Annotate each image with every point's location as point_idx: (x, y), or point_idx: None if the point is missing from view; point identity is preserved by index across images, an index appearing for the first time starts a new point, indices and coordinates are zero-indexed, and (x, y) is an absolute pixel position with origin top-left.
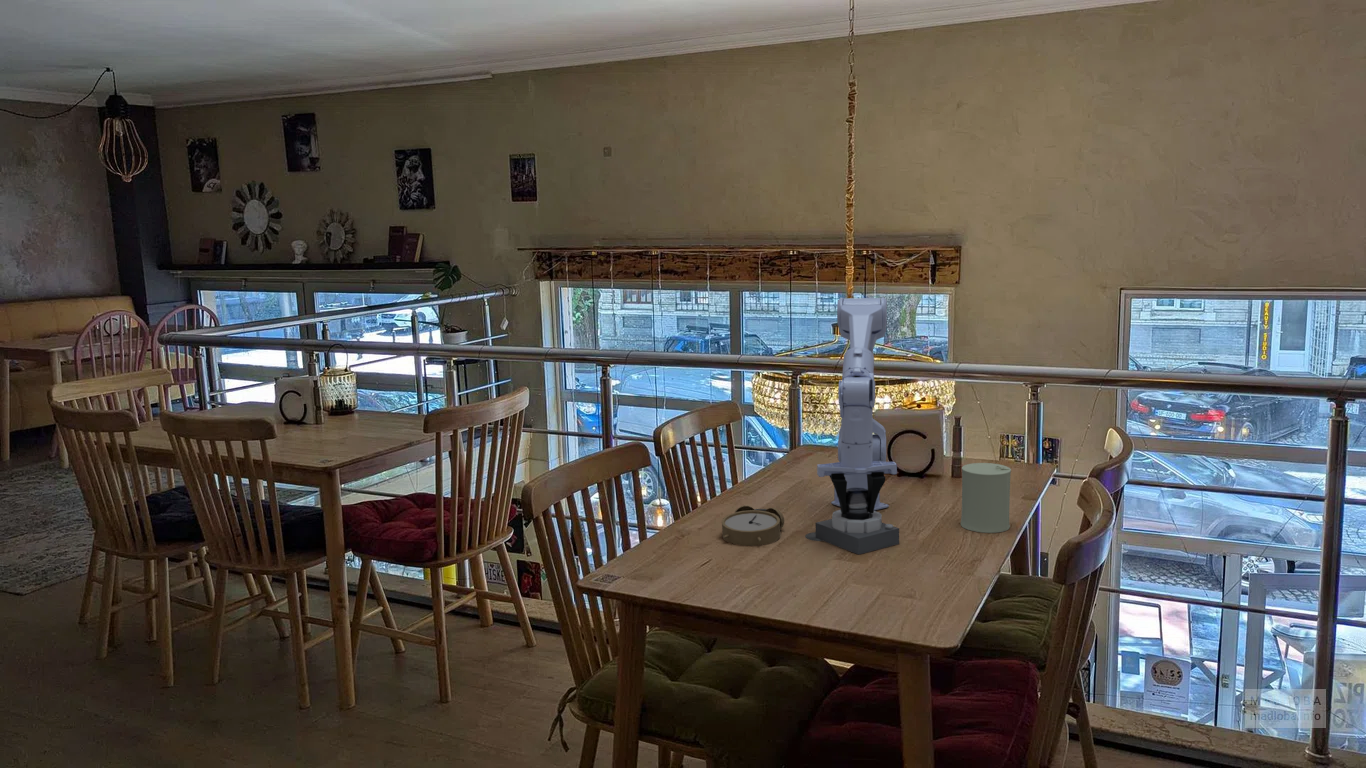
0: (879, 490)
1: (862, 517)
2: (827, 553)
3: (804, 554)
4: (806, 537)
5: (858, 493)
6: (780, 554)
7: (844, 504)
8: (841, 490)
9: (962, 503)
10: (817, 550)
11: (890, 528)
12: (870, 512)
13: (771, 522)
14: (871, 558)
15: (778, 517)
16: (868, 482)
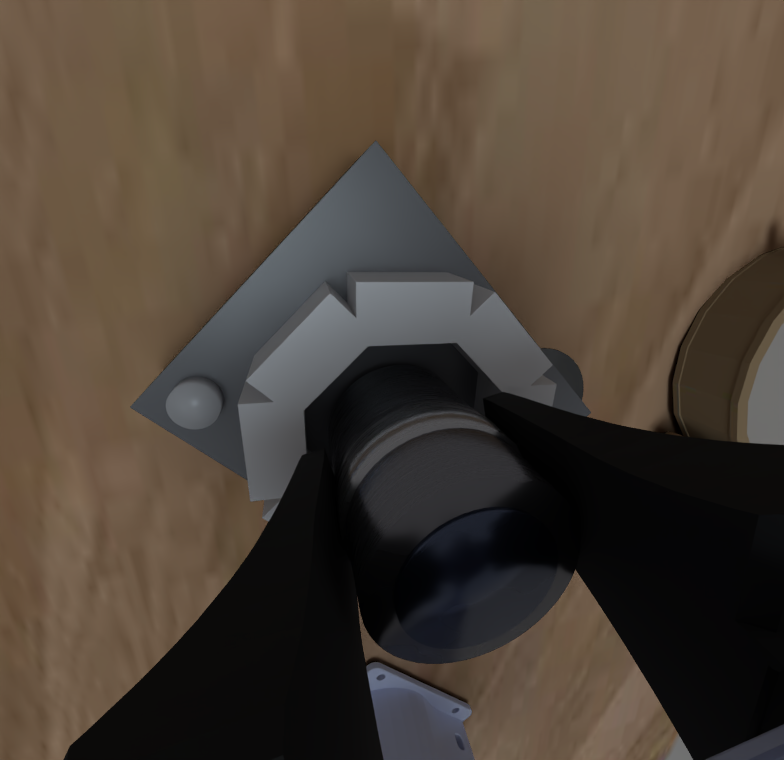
0: (215, 601)
1: (371, 394)
2: (514, 167)
3: (619, 139)
4: (580, 380)
5: (459, 513)
6: (718, 128)
7: (536, 411)
8: (676, 452)
9: None
10: (555, 211)
11: (183, 381)
12: (320, 450)
13: (759, 389)
14: (282, 92)
15: (738, 430)
16: (371, 740)
